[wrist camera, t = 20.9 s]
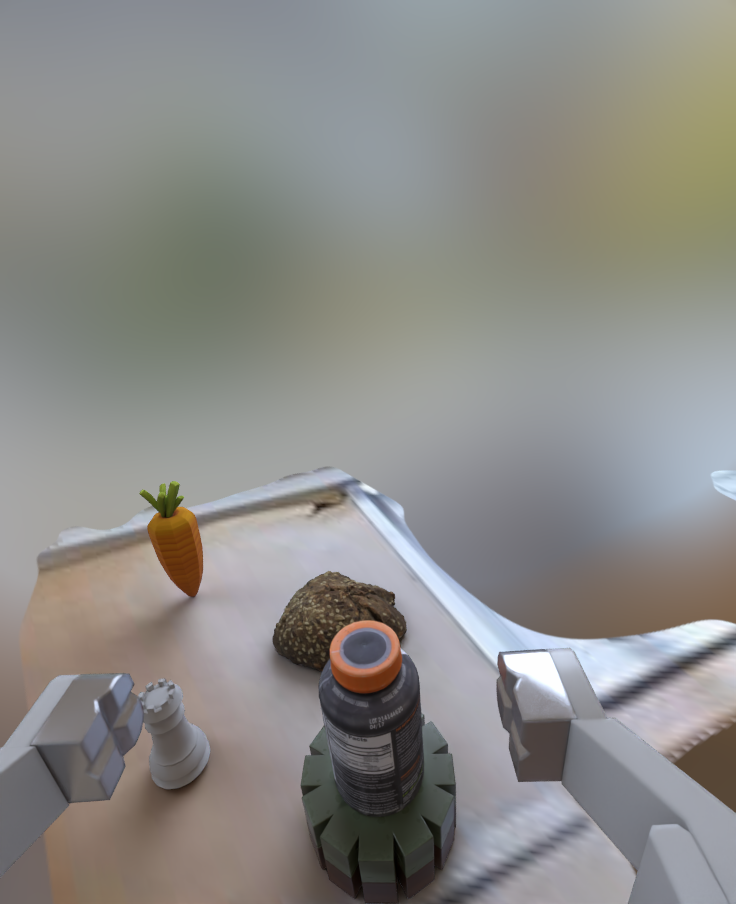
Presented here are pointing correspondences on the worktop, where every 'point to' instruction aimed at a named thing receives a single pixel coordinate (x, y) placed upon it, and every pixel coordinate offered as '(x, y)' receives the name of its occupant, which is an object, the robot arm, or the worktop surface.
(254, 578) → the worktop surface
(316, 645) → the bread roll
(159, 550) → the carrot
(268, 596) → the worktop surface
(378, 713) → the pill bottle
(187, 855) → the worktop surface
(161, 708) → the rook chess piece
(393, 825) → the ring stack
